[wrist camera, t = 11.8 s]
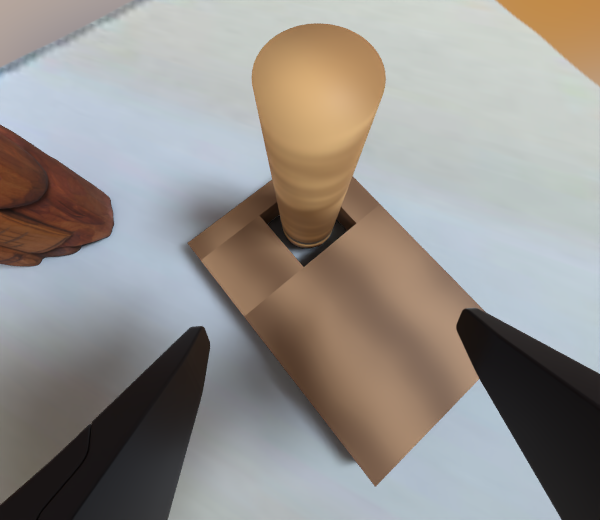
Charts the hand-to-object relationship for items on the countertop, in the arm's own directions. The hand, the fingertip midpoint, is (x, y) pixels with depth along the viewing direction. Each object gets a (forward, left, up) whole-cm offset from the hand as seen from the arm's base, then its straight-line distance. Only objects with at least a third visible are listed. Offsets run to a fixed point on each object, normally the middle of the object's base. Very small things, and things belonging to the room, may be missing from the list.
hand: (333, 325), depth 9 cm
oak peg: (+4, +6, -11) cm, 13 cm away
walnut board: (+3, 0, -11) cm, 11 cm away
